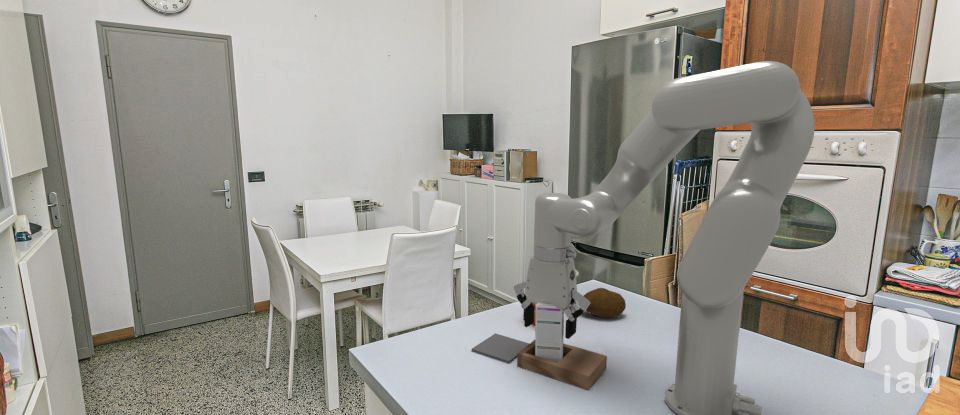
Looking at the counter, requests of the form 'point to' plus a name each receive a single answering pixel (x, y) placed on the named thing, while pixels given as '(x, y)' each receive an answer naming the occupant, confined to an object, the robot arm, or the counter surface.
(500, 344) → the rubber mat
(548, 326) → the syrup box
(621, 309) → the potato
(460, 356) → the counter surface
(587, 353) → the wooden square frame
